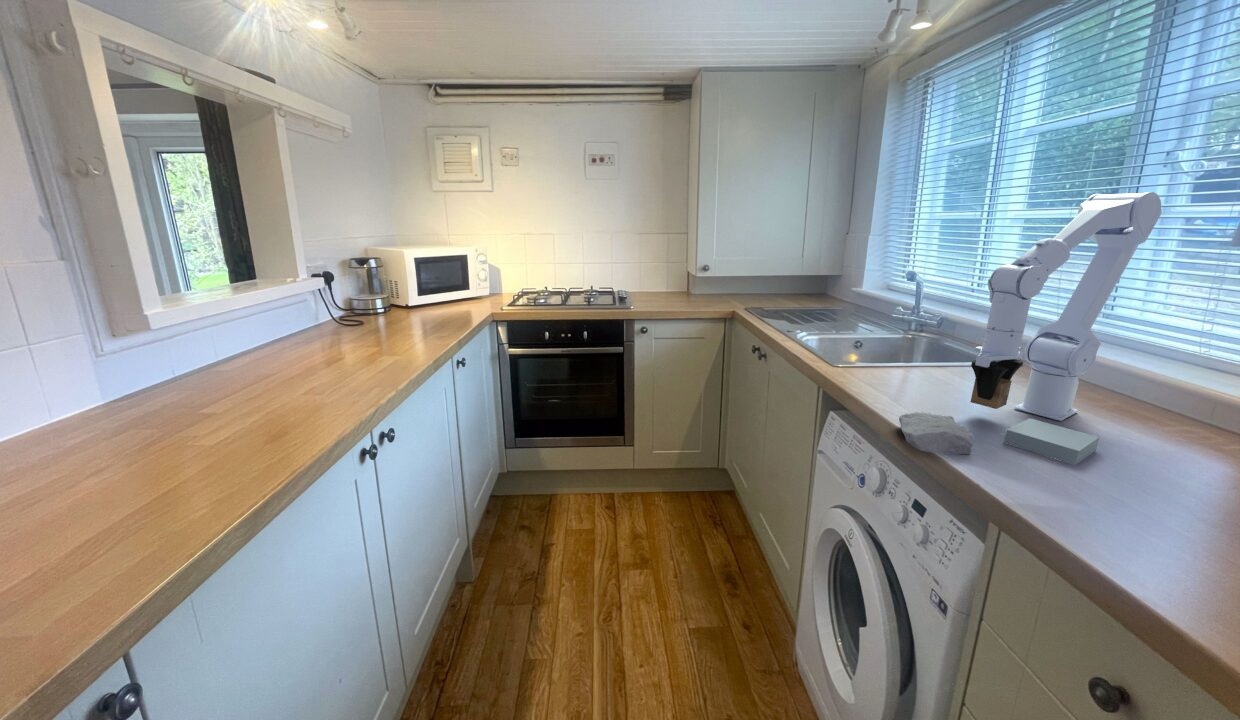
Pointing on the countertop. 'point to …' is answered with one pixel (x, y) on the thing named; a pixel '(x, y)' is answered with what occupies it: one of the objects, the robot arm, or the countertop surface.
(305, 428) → the countertop surface
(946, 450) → the stone block
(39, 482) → the countertop surface
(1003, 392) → the walnut block
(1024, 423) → the base slab
